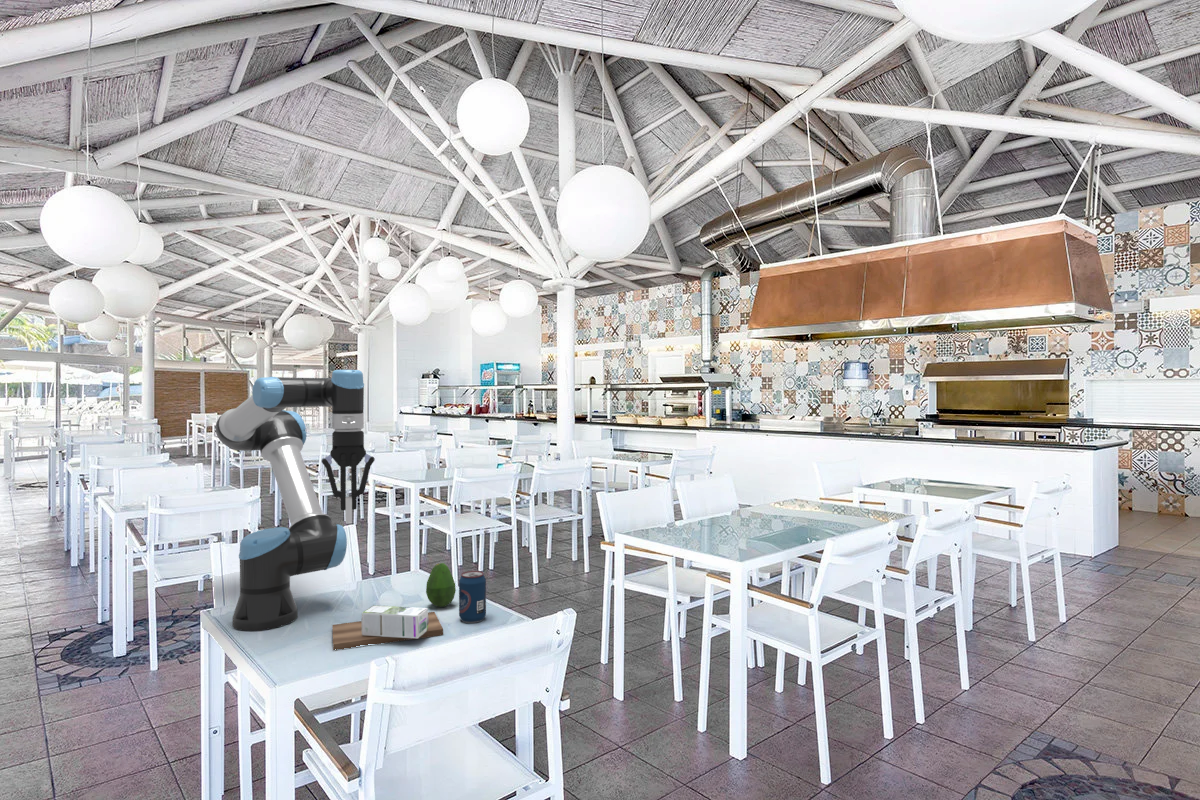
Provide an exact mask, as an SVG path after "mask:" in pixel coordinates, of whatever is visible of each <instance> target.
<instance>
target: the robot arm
mask: <svg viewBox="0 0 1200 800" xmlns="http://www.w3.org/2000/svg"><path fill="white" fill-rule="evenodd" d="M364 391H365V383H364V374H363V372H362V371H361V370H359V369H335V370H333V371H332V373H331V377H289V376H288V377H280V376H278V377H277V376H266V377H265V376H264V377H259V378H257V379H256V380H255V381H254V383H253V386H252V391H251V394H252V395H250V396H249V397H248V398H246V399H245V400H244V401H243V402H242V403H241V404H240V405H238V406H237V407H236V408H230V409H228V410H226V411H224V413H222V414H221V415H220V416H219V417H218V418H217V421H216V423H215V434H216V436H217V438H218V439H219V441H220V442H221V443H222V444H223V445H225V447H228V448H230V449H232V450H236V451H241V452H246V451H247V452H248V451H249V452H250V451H260V454H261V455H260V456H261V457H262V458H263V460H265V461H267V462H269V463H270V466H271V469H272V471H273V472H272V473H273V474H274V479H275V480H276V483H277V487H278V490H279V494H280V496H281V499H282V502H283V504H284V507H285V512H286V514H287V517H288V519H289V523H290V525H289V527H285V526H284V527H283V526H281V527H280V526H277V527H273V528H272V527H270V528H265V529H264V528H263V529H260V530H257V531H253V532H251V533H248V534H247V535H245V536H244V537H243V538H242V539H241V540H240V543H239V554H238V559H239V595H238V600H237V602H236V607H235V609H234V611H233V614H232V628H233V629H236V630H239V631H244V632H247V631H249V632H252V631H253V632H254V631H255V632H256V631H265V630H271V629H275V628H279V627H284V626H286V625H288V624H291V623H293V622H295V620H297V619H298V607H297V603H296V601H295V598H294V595H293V593H292V591H291V581H290V580H291V577H293V576H299V575H300V576H301V575H303V574H308V573H315V572H319V571H327V570H329V569H332V568H337V567H338V566H340V565H341V564H342V562H343V561H344V559H345V557H346V554H347V549H348V547H347V546H348V541H347V540H348V539H347V533H346V530H345V527H344V526H343V525H342V524H338V523H337V524H333V521H332V518H331V516H330V515H329V514H326V513H324V512H323V511H322V508H321V505H320V502H319V500H318V497H317V494H316V492H315V491H316V490H315V488H314V485H313V483H312V480H311V478H310V476H309V475H310V474H309V472H308V469H307V466H306V464H305V460H304V458H303V455H302V453H301V451H302V450H303V448H304V445H305V443H306V440H307V432H306V429H307V428H306V423H305V422H304V419H303V418H302V416H301V415H300V414H299V413H298V412H296V411H293V410H285V409H286V408H302V407H303V408H311V407H313V408H317V407H324V408H325V407H327V408H329V407H331V409H332V411H331V412H332V413H331V415H332V416H331V422H332V424H331V426H332V427H331V428H332V429H333V430H334V431H332V435H331V439H332V443H331V444H332V446H331V450H330V452H329V453H330V454H329V455H327V456H326V457H323V458H322V459H321V463H322V465H323V466H324V468H325V469H326V473H327V477H328V481H329V484H330V488H331V491H332V494H333V496H335V497H338V498H340V510H341V511H345V512H344V513H345V525H347V524H348V525H350V524H353V510H354V511H356V510H357V503H358V501H357V500H358V499H357V498H358V497H359V496H361V495H364V493H365V490H366V486H367V484H368V483H367V482H368V479H369V475H370V469H371V466H372V465H373V463H374V462H375V457H374V456H371V455H369V454H368V453H367V451H366V449H365V435H364V434H365V433H364V431H363V429H364V428H365V425H364V424H365V421H364V420H365V416H364V414H365V413H364V407H365V404H364V403H365V400H364V399H365V397H364V396H365V392H364ZM332 459H333V460H334V461H335V463H336V464H337V465H338V467H340V469H339V471H340V472H339V473H340V475H339V476H340V478H339V479H340V483H339V484H340V485H339V487H340V490H338V486H337V483H336V479H335V476H334V472H333V468H332V464H333V462H332ZM363 459H364V463H365V464H364V467H363V470H362V471H363V472H362V476H361V480H360V483H359V487H357V485H358V484H357V483H358V482H357V479H358V478H357V477H358V476H357V473H358V472H357V466H359V465H360V463H361V462H362V461H363ZM348 467H350V493H351V496H350V495H349V496H347V495H346V494H347V487H346V485H347V483H346V482H347V481H346V479H347V477H346V476H347V469H346V468H348Z"/></svg>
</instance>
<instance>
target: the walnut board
mask: <svg viewBox="0 0 1200 800" xmlns="http://www.w3.org/2000/svg"><path fill="white" fill-rule="evenodd" d="M331 626H332V627H331V628H332V651H333V650H335V649H336V650H335V651H338V650H337V649H342V650H345V649H344V648H349V649H352V648H351V647H356V646H360V645H368V644H377V645H382V644H381V643H384V644H391V643H397V642H404V641H411V640H418V639H425V638H431V637H438V636H439V637H440V636H444V628H443V626H442V624H441V622H440V620H439V618H438V616H437V614H436V612H435V611H431V612H430V611H428V630H427V631H426V632H425V633H424V634H423V635H421V636H420V637H419V638H418V639H416V638H398V637H380V636H364V635H362V620H360V621H351V622H343V623H334V624H331ZM390 642H391V643H390ZM356 648H357V647H356Z"/></svg>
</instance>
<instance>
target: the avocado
mask: <svg viewBox="0 0 1200 800" xmlns="http://www.w3.org/2000/svg"><path fill="white" fill-rule="evenodd" d="M454 579H455V578H454V577H453V574H452V573H451V571H450V569H449V567H448V566H447V564H445V563H444V562H439V563H437V564H435V565H434V566H433V567H432V569H431V571H430V573H429V576H428V579H427V581H426V588H425V589H426V590H425V593H426V596H427V599H428V601H429V602H430V603H431V604H432V605H433V606H435V607H440V608H441V607H442V608H444V607H446V606H448V605H450V604H451V603H452V602H453V600H454V598H455V595H456V590H457V589H456V582H455V580H454Z"/></svg>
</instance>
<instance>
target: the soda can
mask: <svg viewBox="0 0 1200 800" xmlns="http://www.w3.org/2000/svg"><path fill="white" fill-rule="evenodd" d="M484 574H485V573H484V571H480V570H467V571H464V572H462V573H461V574H460V578H459V579H458V580H459V581H458V594H459V595H458V597H459V598H458V615H459V618H460V619H461V622H463V623H465V624H474V623H479V622H480V623H481V622H482V621H483V620H484V619H485V617H486V615H487V579H486V577H485V575H484Z"/></svg>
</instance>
